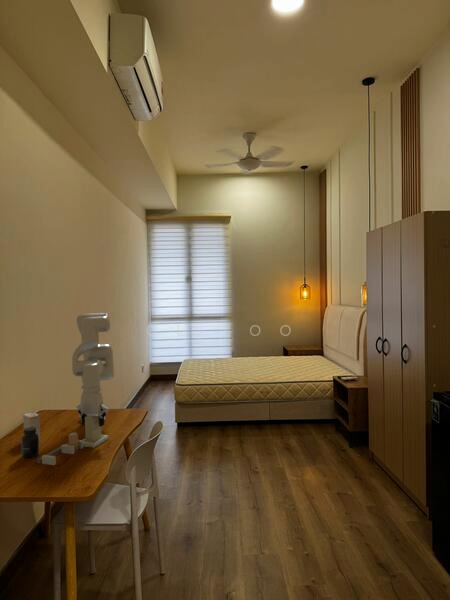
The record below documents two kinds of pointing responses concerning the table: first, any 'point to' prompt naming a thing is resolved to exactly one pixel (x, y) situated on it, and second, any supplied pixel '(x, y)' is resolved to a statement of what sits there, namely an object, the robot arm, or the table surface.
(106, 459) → the table surface
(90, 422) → the skincare box
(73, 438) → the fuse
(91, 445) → the tray
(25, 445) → the supplement bottle
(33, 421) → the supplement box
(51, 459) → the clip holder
